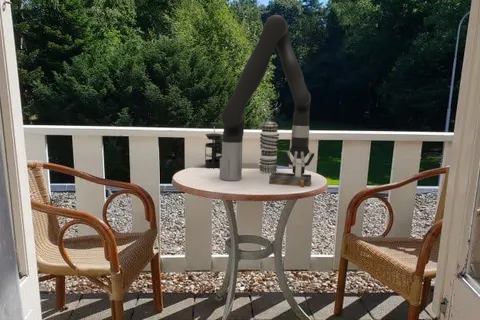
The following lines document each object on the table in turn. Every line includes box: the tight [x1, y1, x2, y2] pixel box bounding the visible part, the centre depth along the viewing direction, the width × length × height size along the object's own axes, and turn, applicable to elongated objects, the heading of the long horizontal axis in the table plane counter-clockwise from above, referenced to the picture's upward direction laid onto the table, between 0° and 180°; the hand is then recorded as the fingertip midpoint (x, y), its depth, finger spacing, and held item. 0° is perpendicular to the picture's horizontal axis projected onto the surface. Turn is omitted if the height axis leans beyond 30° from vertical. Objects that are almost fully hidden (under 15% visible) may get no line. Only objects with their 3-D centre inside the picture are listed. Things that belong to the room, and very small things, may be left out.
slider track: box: [268, 171, 312, 188], centre depth 186 cm, size 18×11×4 cm, turn 79°
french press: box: [204, 122, 223, 170], centre depth 215 cm, size 12×9×23 cm
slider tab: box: [293, 162, 304, 177], centre depth 186 cm, size 5×4×7 cm
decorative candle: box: [259, 121, 280, 176], centre depth 204 cm, size 9×9×25 cm
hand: (298, 174), depth 186 cm, fingers closed on slider tab, 2 cm apart
